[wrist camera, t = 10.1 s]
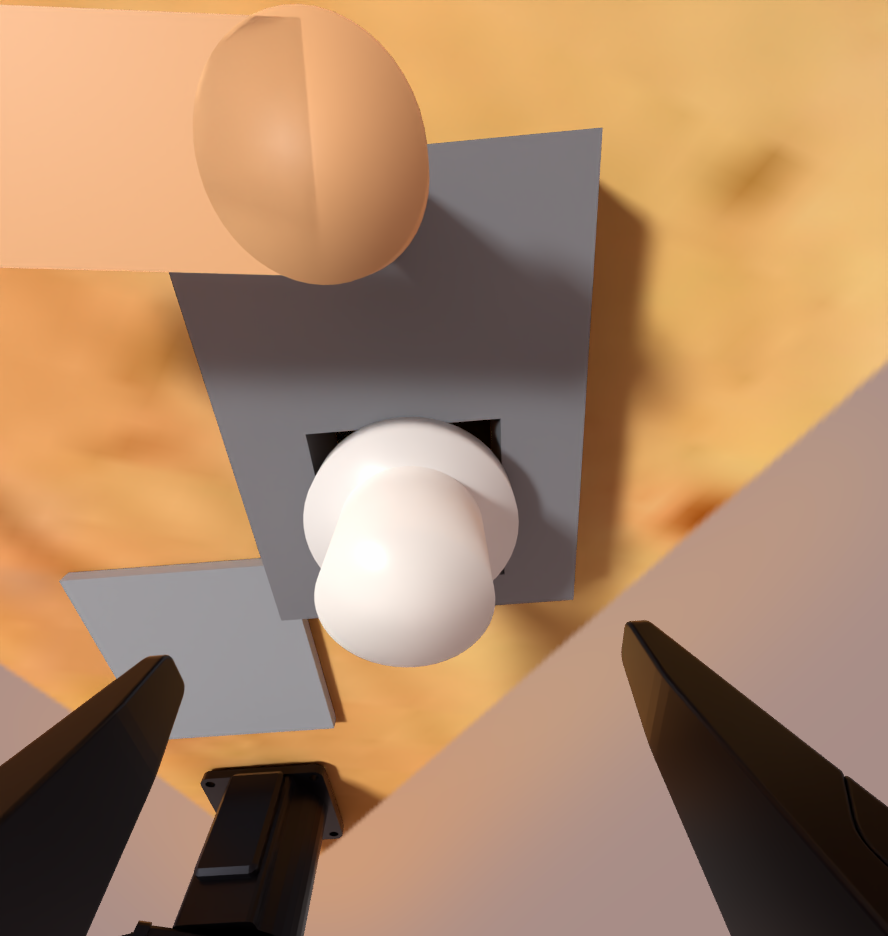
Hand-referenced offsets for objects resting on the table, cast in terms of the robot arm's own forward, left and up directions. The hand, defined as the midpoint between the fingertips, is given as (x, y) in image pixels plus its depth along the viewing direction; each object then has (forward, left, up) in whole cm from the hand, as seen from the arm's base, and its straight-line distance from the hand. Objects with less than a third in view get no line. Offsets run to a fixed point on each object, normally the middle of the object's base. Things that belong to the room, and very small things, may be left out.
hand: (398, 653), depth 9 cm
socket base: (+3, 0, -8) cm, 9 cm away
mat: (-8, +10, -8) cm, 15 cm away
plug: (0, 0, -8) cm, 8 cm away
